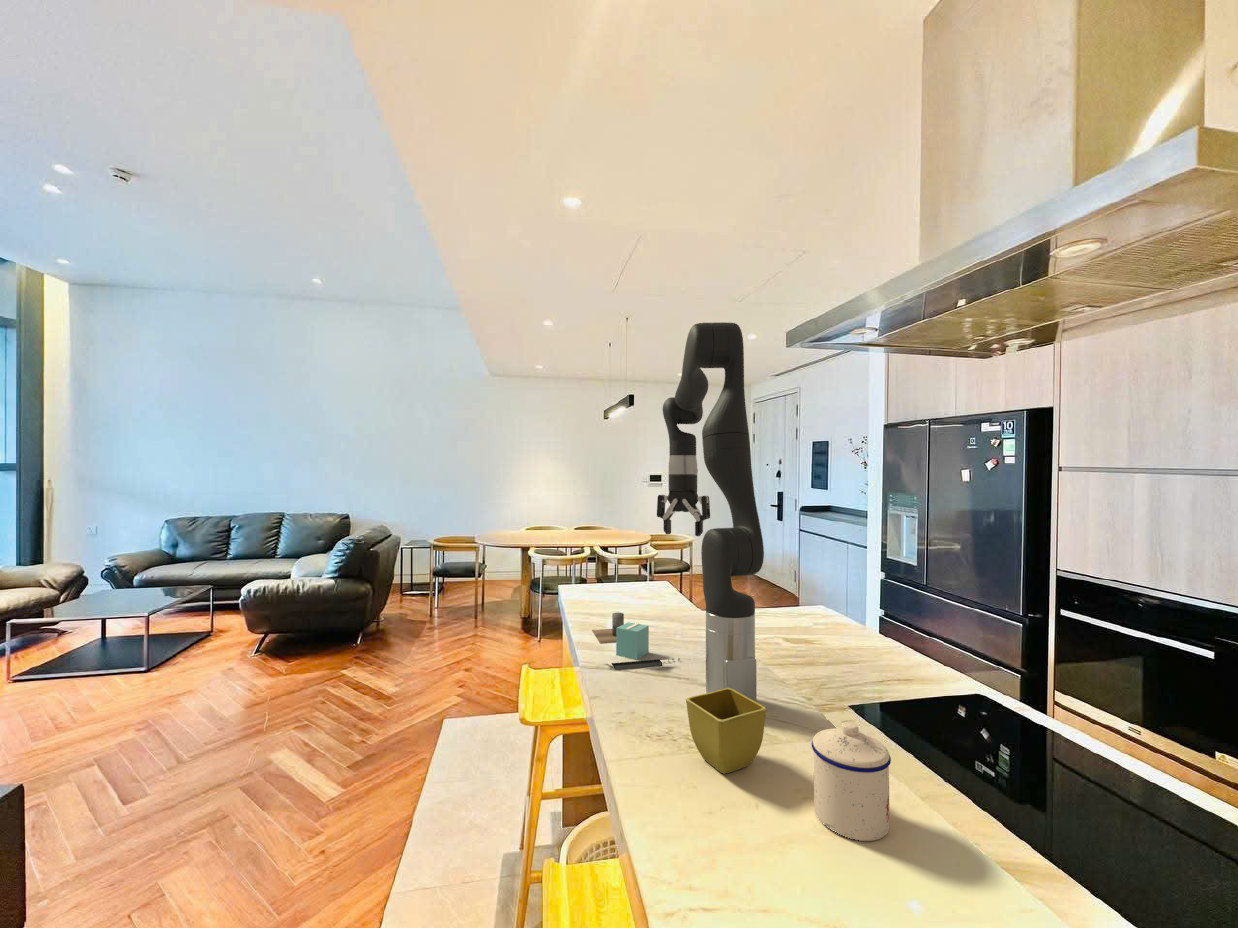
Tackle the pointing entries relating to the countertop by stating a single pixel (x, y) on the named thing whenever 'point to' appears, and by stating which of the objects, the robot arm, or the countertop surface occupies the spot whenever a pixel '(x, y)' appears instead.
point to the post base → (610, 630)
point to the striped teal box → (632, 640)
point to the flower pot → (726, 728)
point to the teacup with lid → (851, 782)
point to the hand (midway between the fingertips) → (682, 534)
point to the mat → (637, 664)
